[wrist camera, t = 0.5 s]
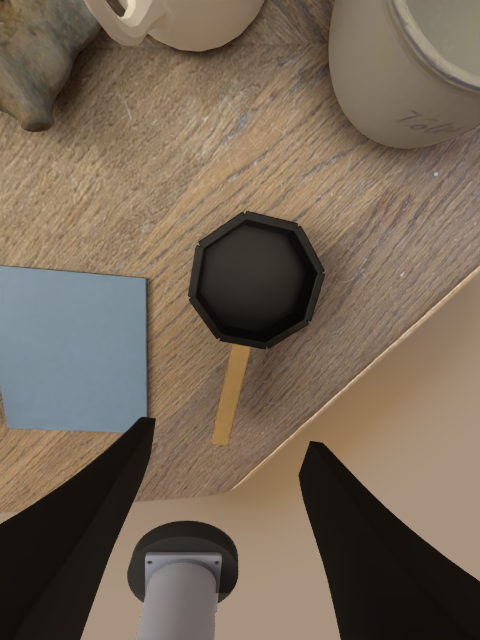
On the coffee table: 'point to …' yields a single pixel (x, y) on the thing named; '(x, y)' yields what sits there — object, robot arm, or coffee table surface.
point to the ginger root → (40, 55)
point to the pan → (252, 293)
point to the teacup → (407, 68)
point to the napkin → (72, 350)
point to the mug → (177, 21)
